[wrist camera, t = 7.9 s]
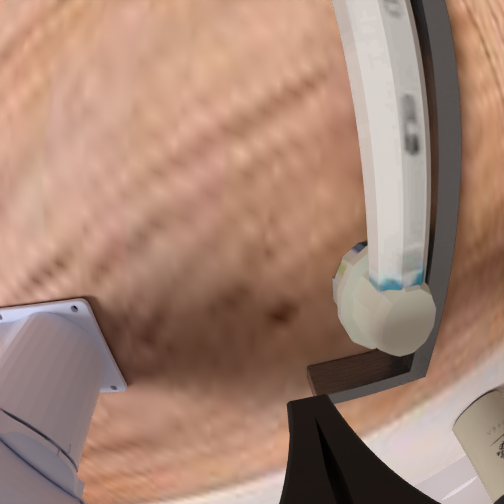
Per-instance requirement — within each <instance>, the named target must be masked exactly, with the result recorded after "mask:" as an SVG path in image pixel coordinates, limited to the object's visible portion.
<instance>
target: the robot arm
mask: <svg viewBox="0 0 504 504" xmlns="http://www.w3.org/2000/svg"><path fill="white" fill-rule="evenodd" d="M73 305H74V306H76V307H77V308H78V309H76V308H74V307H73ZM126 388H127V384H126V382H125V380H124V378H123V376H122V374H121V372H120V370H119V368H118V366H117V364H116V362H115V360H114V358H113V356H112V354H111V352H110V350H109V348H108V346H107V343H106V341H105V339H104V337H103V335H102V333H101V330H100V328H99V326H98V323H97V321H96V319H95V317H94V314H93V312H92V309H91V307H90V305H89V303H88V302H87V301H86V300H85V299H82V298H79V299H71V300H63V301H56V302H48V303H40V304H32V305H23V306H15V307H7V308H0V504H88V503H87V502H86V501H85V500H84V499H83V498H82V494H83V489H84V484H85V483H84V482H83V481H81V480H80V479H79V478H78V476H77V472H78V468H79V464H80V460H81V456H82V452H83V448H84V444H85V441H86V437H87V433H88V430H89V426H90V423H91V419H92V416H93V412H94V409H95V406H96V402H97V399H98V396H99V393H100V392H123V391H125V390H126ZM287 412H288V423H289V433H290V440H289V453H288V462H287V469H286V475H285V481H284V486H283V490H282V495H281V499H280V503H279V504H441V503H439V502H437V501H435V500H433V499H432V498H430V497H429V496H427V495H425V494H424V493H422V492H421V491H419V490H418V489H416V488H415V487H413V486H412V485H410V484H409V483H408V482H406V481H405V480H404V479H402V478H401V477H400V476H399V475H397V474H396V473H395V472H394V471H393V470H391V469H390V468H389V467H388V466H387V465H386V464H385V463H383V462H382V461H381V460H380V459H379V458H378V457H377V456H376V455H375V454H374V453H373V452H372V451H371V450H370V449H369V448H368V447H367V446H366V445H365V443H364V442H363V441H362V440H361V439H360V438H359V437H358V435H357V434H356V433H355V432H354V431H353V430H352V428H351V427H350V426H349V425H348V423H347V422H346V421H345V420H344V418H343V417H342V416H341V414H340V413H339V411H338V410H337V409H336V407H335V406H334V404H333V403H332V401H331V399H330V398H329V396H328V395H326V394H322V395H318V396H313V397H308V398H304V399H299V400H294V401H290V402H288V403H287Z"/></svg>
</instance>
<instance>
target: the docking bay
mask: <svg viewBox="0 0 504 504" xmlns="http://www.w3.org/2000/svg"><path fill="white" fill-rule="evenodd" d="M410 3H411V7H412V11H413V16H414V20H415V25H416V30H417V35H418V40H419V46H420V51H421V57H422V64H423V71H424V78H425V86H426V95H427V105H428V117H429V131H430V153H431V207H430V229H429V244H428V256H427V266H426V276H425V283H426V284H427V285H428V287H429V290H430V292H431V295H432V298H433V301H434V304H435V307H436V314H435V321H434V327H433V329H432V330H431V332H430V334H429V336H428V338H427V340H426V342H425V343H424V344H422V345H421V346H420V347H419V348H418V349H417V350H416V351H415V352H414V353H411V354H407V355H404V356H401V357H399V356H395V355H391V354H389V353H386V352H384V351H381V350H375V351H372V352H368V353H364V354H360V355H356V356H352V357H348V358H344V359H339V360H335V361H331V362H326V363H322V364H317V365H312V366H307V378H308V381H309V384H310V387H311V390H312V394H313V396H318V395H322V394H326V395H328V396H329V398H330V399H331V401H332V403H333V404H336V403H340V402H344V401H348V400H352V399H356V398H359V397H363V396H366V395H370V394H373V393H377V392H380V391H383V390H387V389H390V388H393V387H396V386H399V385H402V384H405V383H408V382H411V381H414V380H417V379H420V378H423V377H425V376H426V373H427V369H428V366H429V363H430V359H431V356H432V352H433V349H434V345H435V341H436V338H437V334H438V330H439V326H440V322H441V317H442V313H443V309H444V304H445V299H446V294H447V289H448V284H449V278H450V273H451V267H452V260H453V254H454V246H455V239H456V230H457V221H458V210H459V197H460V180H461V115H460V98H459V86H458V75H457V67H456V59H455V51H454V45H453V38H452V33H451V27H450V22H449V17H448V12H447V7H446V3H445V0H410Z"/></svg>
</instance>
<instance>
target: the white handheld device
mask: <svg viewBox="0 0 504 504" xmlns="http://www.w3.org/2000/svg"><path fill="white" fill-rule="evenodd" d="M331 1H332V4H333V8H334V12H335V16H336V20H337V24H338V28H339V32H340V37H341V41H342V46H343V50H344V55H345V60H346V65H347V70H348V75H349V80H350V86H351V92H352V98H353V104H354V110H355V116H356V123H357V130H358V138H359V145H360V153H361V162H362V171H363V182H364V193H365V205H366V219H367V236H368V242H362V243H358V244H357V245H356V246H354V247H353V248H352V249H351V250H350V251H348V252H347V253H346V254H345V255H344V256H343V257H342V258H343V259H342V261H341V264H340V266H339V269H338V271H337V274H336V276H335V277H334V278H332V284H333V300H334V302H335V303H336V305H337V307H338V318H339V320H340V322H341V323H342V325H343V327H344V328H345V330H346V332H347V333H348V335H349V337H350V338H351V340H352V341H353V342H354V343H357V344H359V345H362V346H364V347H367V348H370V349H374V348H378V349H379V350H381V351H384V352H386V353H389V354H391V355H395V356H399V357H401V356H404V355H407V354H411V353H414V352H415V351H416V350H417V349H418V348H419V347H420V346H421V345H422V344H424V343H425V342H426V340H427V338H428V336H429V334H430V332H431V330H432V329H433V327H434V321H435V314H436V307H435V304H434V301H433V298H432V295H431V292H430V290H429V287H428V285H427V284H426V283H425V276H426V266H427V256H428V244H429V229H430V207H431V153H430V131H429V117H428V105H427V95H426V86H425V78H424V71H423V64H422V57H421V51H420V46H419V40H418V35H417V30H416V25H415V20H414V16H413V11H412V7H411V3H410V0H331Z"/></svg>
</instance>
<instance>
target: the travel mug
mask: <svg viewBox="0 0 504 504" xmlns="http://www.w3.org/2000/svg"><path fill="white" fill-rule="evenodd" d="M453 432H454V434H455V436H456V437H457V439H458V441H459V442H460V444H461V446H462V447H463V449H464V451H465V453H466V454H467V456H468V458H469V460H470V461H471V463H472V465H473V467H474V469H475V470H476V472H477V474H478V476H479V478H480V479H481V481H482V483H483V485H484V487H485V489H486V491H487V493H488V494H489V496H490V498H491V500H492V502H493V503H494V504H504V397H503V395H502V394H501V393H500V392H499V391H493V392H490V393H488V394H486V395H484V396H482V397H481V398H479V399H478V400H476V401H475V402H474V403H473V404H471V405H470V406H469V407H468V408H467V409H466V410H465V411H464V412H463V413H462V414H461V416H460V417H459V418H458V420H457V421H456V423H455V425H454V427H453Z"/></svg>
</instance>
